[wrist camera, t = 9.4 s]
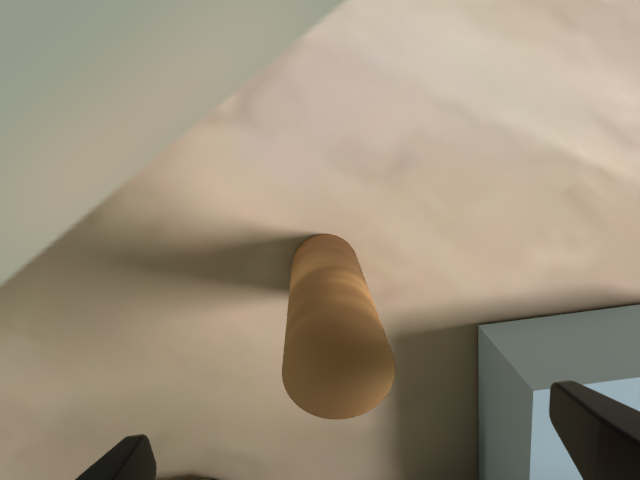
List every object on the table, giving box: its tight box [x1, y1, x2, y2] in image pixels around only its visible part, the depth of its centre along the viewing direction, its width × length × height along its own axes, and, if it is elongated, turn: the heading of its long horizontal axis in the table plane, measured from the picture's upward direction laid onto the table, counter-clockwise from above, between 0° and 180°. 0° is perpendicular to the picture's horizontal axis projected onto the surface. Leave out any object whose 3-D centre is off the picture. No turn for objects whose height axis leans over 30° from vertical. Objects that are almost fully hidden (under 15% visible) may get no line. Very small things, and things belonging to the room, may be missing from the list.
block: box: [478, 304, 640, 480], centre depth 18 cm, size 10×10×5 cm
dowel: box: [282, 234, 395, 419], centre depth 14 cm, size 3×3×8 cm
